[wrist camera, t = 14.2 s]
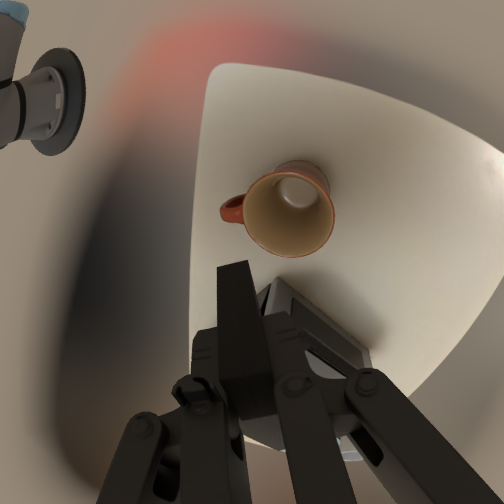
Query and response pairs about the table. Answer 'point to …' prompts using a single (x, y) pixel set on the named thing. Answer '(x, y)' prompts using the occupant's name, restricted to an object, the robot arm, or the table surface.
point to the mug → (286, 210)
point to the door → (318, 334)
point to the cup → (348, 450)
